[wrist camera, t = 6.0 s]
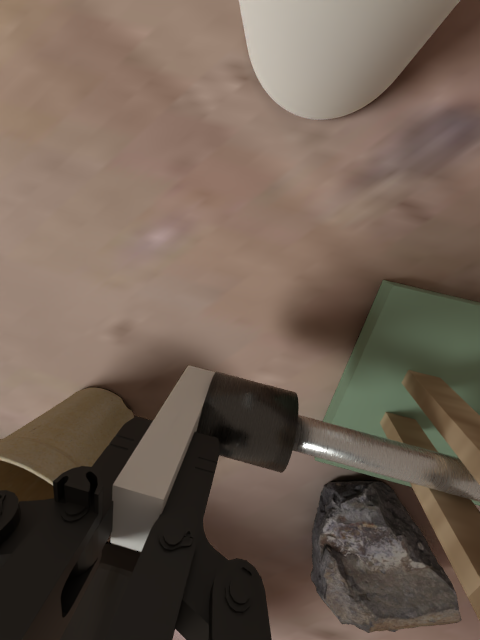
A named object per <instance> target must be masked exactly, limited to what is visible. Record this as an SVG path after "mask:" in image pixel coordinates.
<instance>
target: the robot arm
mask: <svg viewBox="0 0 480 640" xmlns="http://www.w3.org/2000/svg"><path fill="white" fill-rule="evenodd" d="M214 374H215V372H213V371H209V370H205V369H201V368H197V367H194V366H190V365H188V366H187V368H186V369H185V371H184V373H183V374H182V376H181V377H180V379H179V380H178V382H177V384H176V385H175V387H174V388H173V390H172V392H171V393H170V395H169V396H168V398H167V400H166V401H165V403H164V404H163V406H162V407H161V409H160V411H159V412H158V414H157V415H156V417H155V419H154V420H153V421H151V420H147V419H144V418H140V417H137V416H136V417H134V418H133V419H131V420H129V421H128V422H126V423H125V424H124V425H123V426H122V428H121V429H120V430H119V431H118V433H117V434H116V436H115V437H114V438H113V439H112V441H111V442H110V443H109V446H107V447H106V448H105V450H104V451H103V452H102V454H101V455H100V456H99V458H98V459H97V460H96V462H95V463H94V464H93V466H92V467H88V466H80V467H76V468H72V469H70V470H68V471H66V472H64V473H62V474H61V475H60V476H58V477H57V478H56V479H55V480H54V481H53V491H54V498H52V499H46V500H33V501H19V500H18V498H17V496H16V495H15V493H13V492H10V491H8V490H0V640H172V639H173V635H174V631H175V629H176V630H177V631H178V632H179V633H180V634H181V635H182V636H183V637H184V638H185V639H186V640H272V639H271V632H270V625H269V617H268V610H267V602H266V595H265V589H264V586H263V582H262V579H261V577H260V575H259V573H258V572H257V570H256V569H255V567H254V566H252V565H251V564H250V563H249V562H247V561H245V560H241V559H237V558H236V559H233V560H227V559H226V558H225V557H224V556H222V555H221V554H220V553H219V552H217V551H216V550H215V549H214V548H213V547H212V546H211V545H210V543H209V542H208V540H207V538H206V536H205V533H204V530H203V517H204V513H205V509H206V505H207V501H208V497H209V493H210V489H211V485H212V481H213V477H214V473H215V469H216V465H217V461H218V457H219V453H220V446H219V441H218V438H216V437H212V436H208V435H205V434H201V433H198V432H196V431H197V427H198V423H199V419H200V415H201V411H202V408H203V404H204V401H205V398H206V395H207V392H208V389H209V386H210V383H211V380H212V378H213V376H214ZM110 534H111V543H114V544H117V545H120V546H117V545H112V544H105V543H106V542H107V540H108V538H109V536H110ZM122 546H124V547H122ZM125 547H127V548H125ZM128 548H130V549H128ZM131 549H133V550H131ZM134 550H137V551H140V552H141V553H139V552H136V551H134Z"/></svg>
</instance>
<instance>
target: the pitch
mask: <svg viewBox="0 0 480 640" xmlns="http://www.w3.org/2000/svg"><path fill="white" fill-rule="evenodd" d="M408 370H411V371H415V372H419V373H423V374H427V375H431V376H435V377H439V378H441V379H442V380H443V381H444V382H445V383H446V384H447V385H448V386H449V387H451V388H452V389H453V390H454V391H455V392H456V393H457V394H458V395H459V396H460V397H461V398H462V399H463V400H464V401H465V402H466V403H467V404H468V405H469V406H470V407H471V408H472V409H473V410H474V411H475V412H477V413H478V414H479V415H480V303H479V302H475V301H471V300H467V299H462V298H458V297H454V296H450V295H445V294H441V293H437V292H433V291H428V290H424V289H420V288H416V287H411V286H407V285H403V284H399V283H394V282H390V281H386V280H383V281H382V284H381V286H380V288H379V291H378V293H377V295H376V298H375V300H374V302H373V305H372V307H371V309H370V312H369V314H368V316H367V319H366V321H365V323H364V326H363V328H362V331H361V333H360V335H359V338H358V340H357V342H356V345H355V347H354V349H353V352H352V354H351V356H350V359H349V361H348V363H347V366H346V368H345V370H344V373H343V375H342V377H341V380H340V382H339V384H338V387H337V389H336V391H335V394H334V396H333V398H332V401H331V403H330V405H329V408H328V410H327V413H326V415H325V417H324V420H323V422H327V423H330V424H334V425H338V426H342V427H345V428H349V429H353V430H357V431H360V432H364V433H368V434H372V435H375V436H379V437H383V438H386V439H388V438H387V436H386V434H385V432H384V430H383V428H382V426H381V424H380V422H381V420H382V418H383V416H384V414H385V412H388V413H392V414H396V415H400V416H404V417H408V418H411V419H415V420H416V421H417V422H418V424H419V425H420V427H421V428H422V430H423V431H424V432H425V434H426V435H427V437H428V438H429V440H430V441H431V443H432V444H433V445H434V447H435V448H436V450H437V451H438V452H439V453H443V454H446V455H450V456H454V457H458V456H457V455H456V454H455V452H454V451H453V450H452V448H451V447H450V446H449V444H448V443H447V442H446V441H445V439H444V438H443V437H442V435H441V434H440V433H439V431H438V430H437V429H436V427H435V426H434V425H433V424H432V422H431V421H430V420H429V418H428V417H427V416H426V414H425V413H424V412H423V410H422V409H421V408H420V407H419V405H418V404H417V403H416V401H415V400H414V399H413V397H412V396H411V395H410V393H409V392H408V391H407V390H406V388H405V387H404V386H403V384H402V383H401V382H402V381H403V379H404V377H405V375H406V373H407V371H408ZM315 461H319V462H323V463H326V464H330V465H333V466H337V467H341V468H344V469H348V470H352V471H355V472H359V473H363V474H366V475H370V476H373V477H377V478H381V479H384V480H388V481H392V482H395V483H399V484H402V485H406V486H410V487H412V486H411V484H410V483H409V482H405V481H402V480H398V479H395V478H391V477H387V476H384V475H380V474H376V473H373V472H369V471H365V470H362V469H358V468H354V467H351V466H347V465H344V464H340V463H336V462H333V461H329V460H325V459H322V458H318V457H315ZM472 502H473V503H474V504H475V505H479V506H480V502H478V501H475V500H472Z"/></svg>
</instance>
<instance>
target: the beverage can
mask: <svg viewBox="0 0 480 640" xmlns="http://www.w3.org/2000/svg"><path fill="white" fill-rule="evenodd" d="M459 2H460V0H239V3H240V9H241V15H242V20H243V26H244V31H245V37H246V43H247V48H248V52H249V56H250V60H251V63H252V66H253V69H254V71H255V74H256V76H257V78H258V80H259V82H260V83H261V85H262V87H263V88H264V89H265V91H266V92H267V93H268V95H269V96H270V97H271V98H272V99H273V100H274V101H275V102H276V103H277V104H278V105H280V106H281V107H282V108H284V109H285V110H287V111H289V112H290V113H292V114H295V115H297V116H300V117H303V118H308V119H314V120H327V119H334V118H339V117H342V116H345V115H348V114H351V113H353V112H355V111H357V110H359V109H361V108H363V107H364V106H366V105H368V104H369V103H371V102H372V101H373V100H375V99H376V98H377V97H378V96H380V95H381V94H382V93H383V92H384V91H385V90H386V89H387V88H388V87H389V86H390V85H391V84H392V83H393V82H394V80H395V79H396V78H397V77H398V76H399V75H400V73H401V72H402V71H403V70H404V68H405V67H406V66H407V65H408V64H409V62H410V61H411V60H412V59H413V58H414V56H415V55H416V54H417V53H418V51H419V50H420V49H421V48H422V47H423V45H424V44H425V43H426V42H427V40H428V39H429V38H430V37H431V36H432V34H433V33H434V32H435V31H436V30H437V28H438V27H439V26H440V25H441V23H442V22H443V21H444V20H445V19H446V17H447V16H448V15H449V14H450V12H451V11H452V10H453V9H454V8H455V6H456V5H457V4H458V3H459Z"/></svg>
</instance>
